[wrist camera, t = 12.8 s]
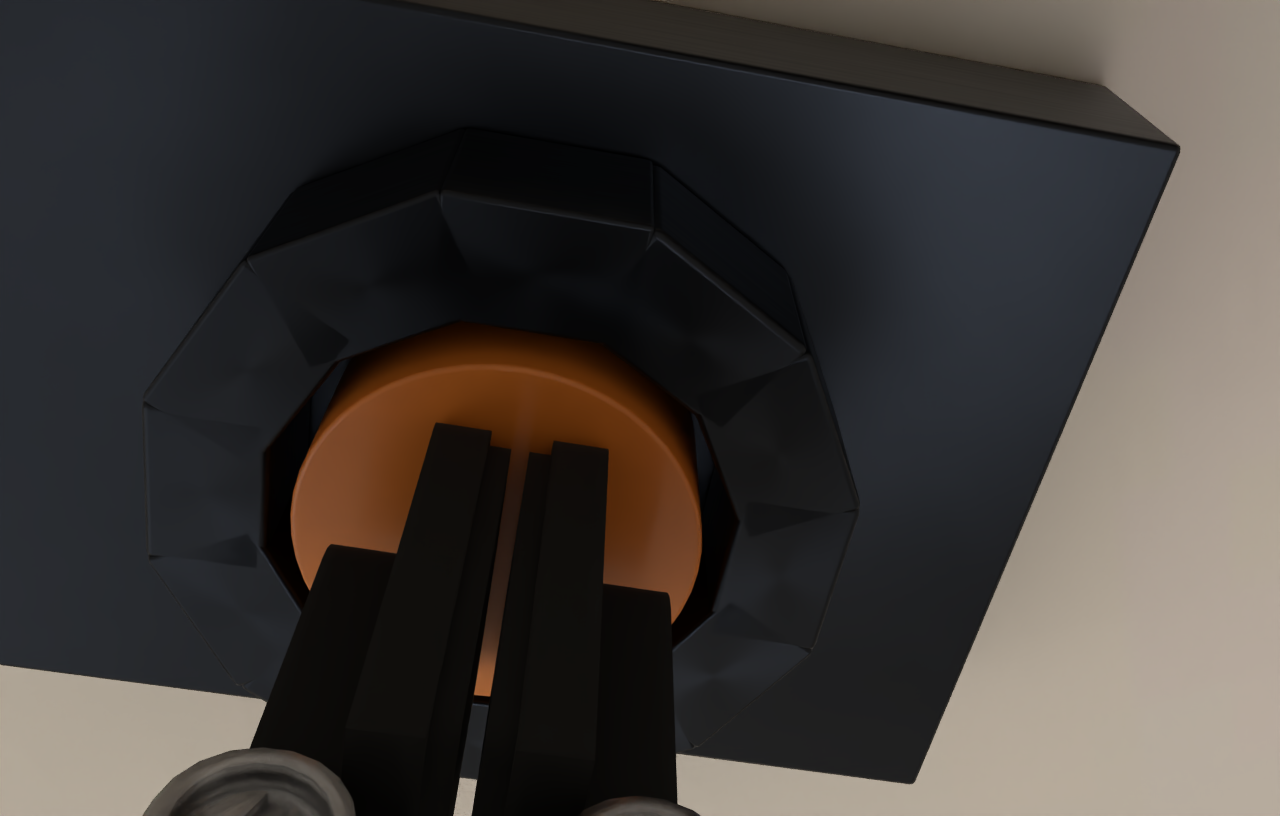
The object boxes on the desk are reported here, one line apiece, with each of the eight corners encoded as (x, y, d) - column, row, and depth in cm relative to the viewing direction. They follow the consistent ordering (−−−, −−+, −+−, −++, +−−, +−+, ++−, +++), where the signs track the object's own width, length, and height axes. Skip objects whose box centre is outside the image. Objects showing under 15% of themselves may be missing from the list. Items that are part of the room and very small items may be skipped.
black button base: (67, 559, 17) (-81, 776, 13) (17, -121, 12) (-221, -57, 9) (885, 674, 18) (944, 901, 15) (1109, 86, 14) (1270, 213, 10)
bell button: (320, 567, 14) (282, 671, 12) (339, 253, 12) (296, 332, 10) (658, 615, 14) (660, 722, 13) (731, 318, 12) (742, 403, 11)
